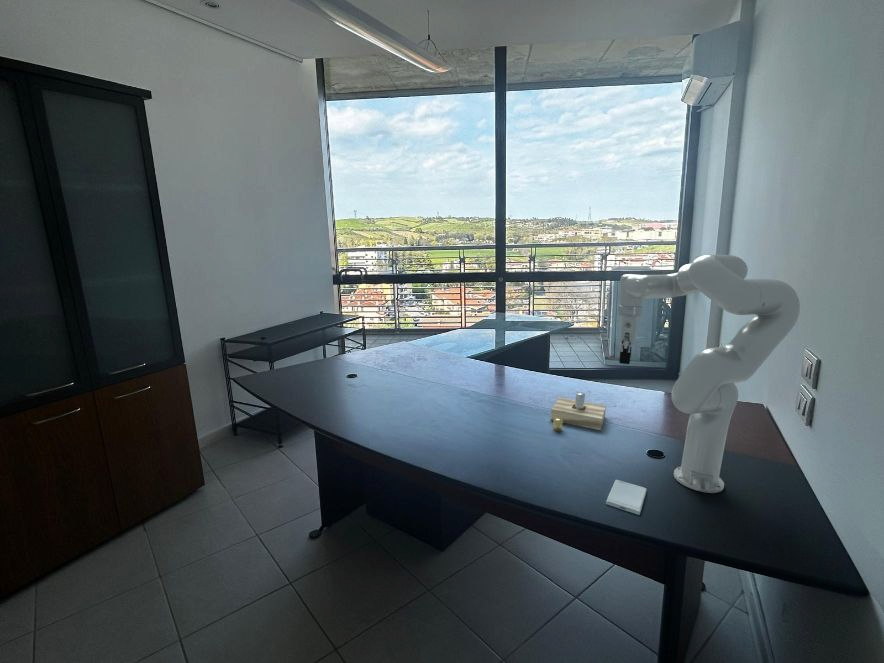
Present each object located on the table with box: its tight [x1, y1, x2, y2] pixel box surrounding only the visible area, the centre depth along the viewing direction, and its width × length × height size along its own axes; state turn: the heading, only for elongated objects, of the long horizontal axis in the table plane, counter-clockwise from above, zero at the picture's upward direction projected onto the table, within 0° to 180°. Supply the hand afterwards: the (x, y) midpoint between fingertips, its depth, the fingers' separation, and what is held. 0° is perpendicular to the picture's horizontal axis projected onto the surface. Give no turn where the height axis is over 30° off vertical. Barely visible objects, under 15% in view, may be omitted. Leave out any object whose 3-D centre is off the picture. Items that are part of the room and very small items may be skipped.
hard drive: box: [605, 479, 648, 516], centre depth 117 cm, size 2×8×12 cm
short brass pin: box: [552, 417, 564, 432], centre depth 157 cm, size 3×3×4 cm
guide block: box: [550, 396, 607, 431], centre depth 167 cm, size 14×18×4 cm
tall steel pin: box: [574, 391, 586, 410], centre depth 167 cm, size 3×3×10 cm
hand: (625, 360), depth 151 cm, fingers open, 9 cm apart
